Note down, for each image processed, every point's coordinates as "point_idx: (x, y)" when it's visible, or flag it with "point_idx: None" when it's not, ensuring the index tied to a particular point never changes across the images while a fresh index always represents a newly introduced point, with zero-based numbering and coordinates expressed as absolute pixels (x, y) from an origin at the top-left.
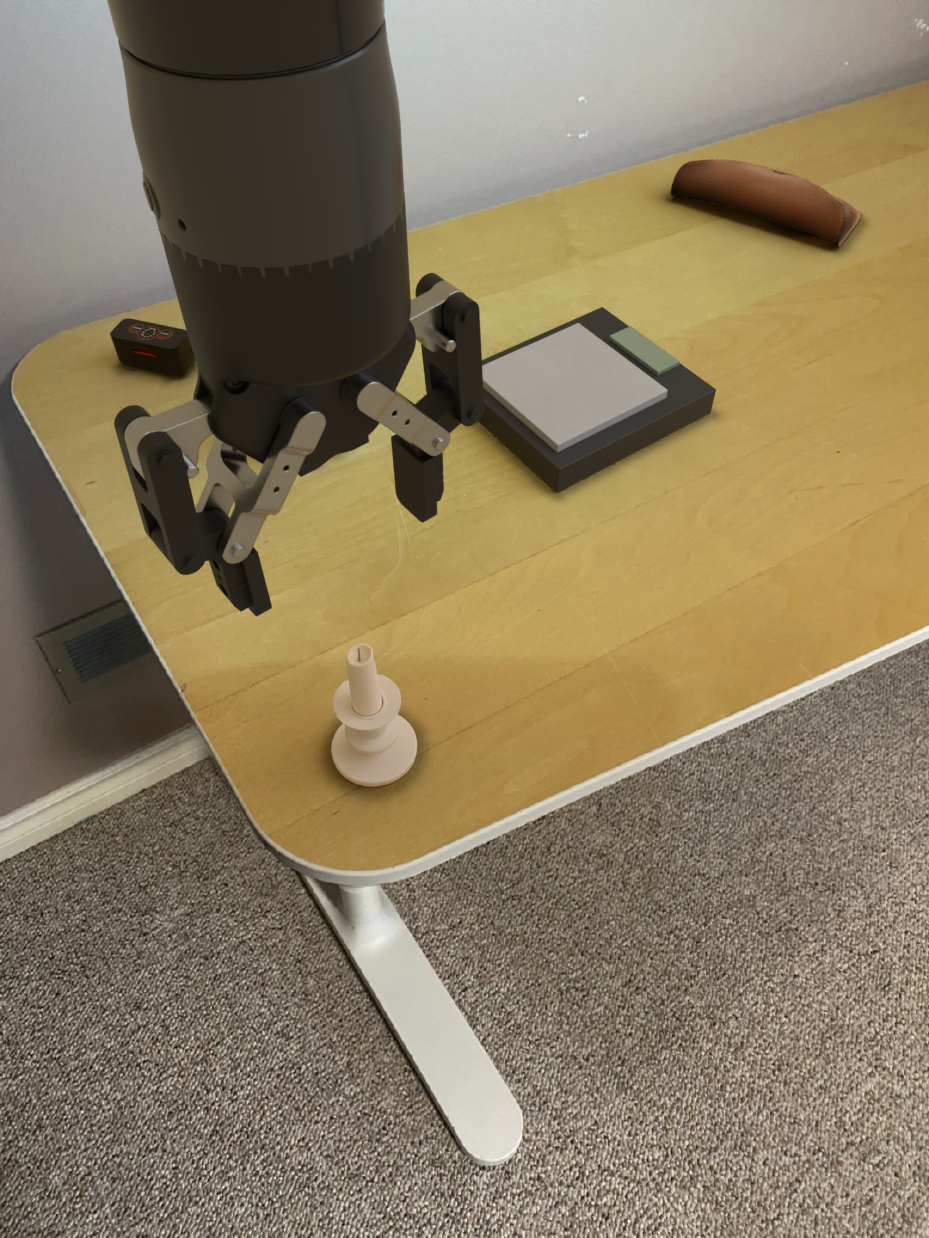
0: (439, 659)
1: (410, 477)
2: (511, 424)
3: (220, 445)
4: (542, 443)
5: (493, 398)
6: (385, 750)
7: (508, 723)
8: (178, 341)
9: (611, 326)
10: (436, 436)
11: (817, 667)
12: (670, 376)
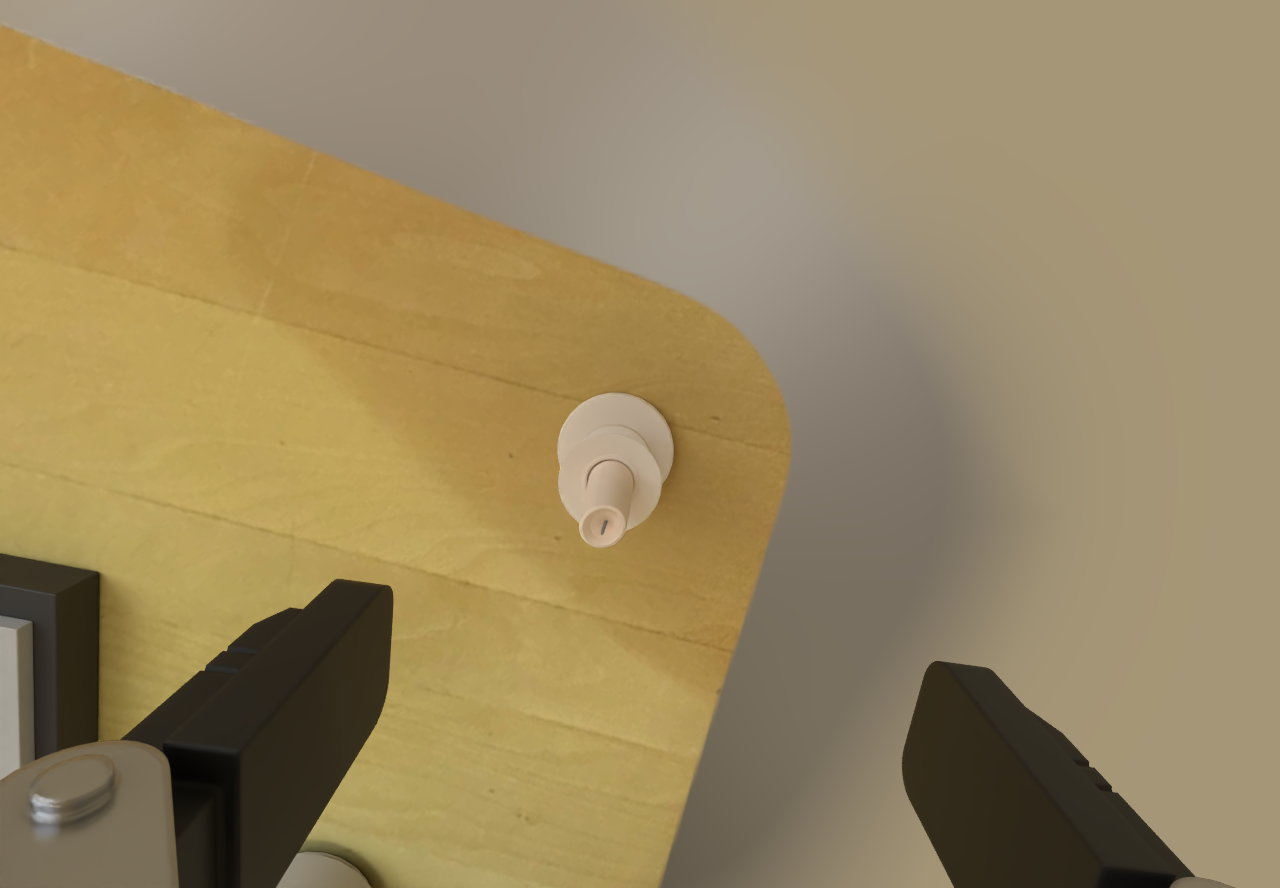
0: (451, 487)
1: (315, 735)
2: (52, 712)
3: None
4: (38, 651)
5: None
6: (622, 425)
7: (455, 343)
8: None
9: None
10: (38, 841)
11: (11, 41)
12: None
